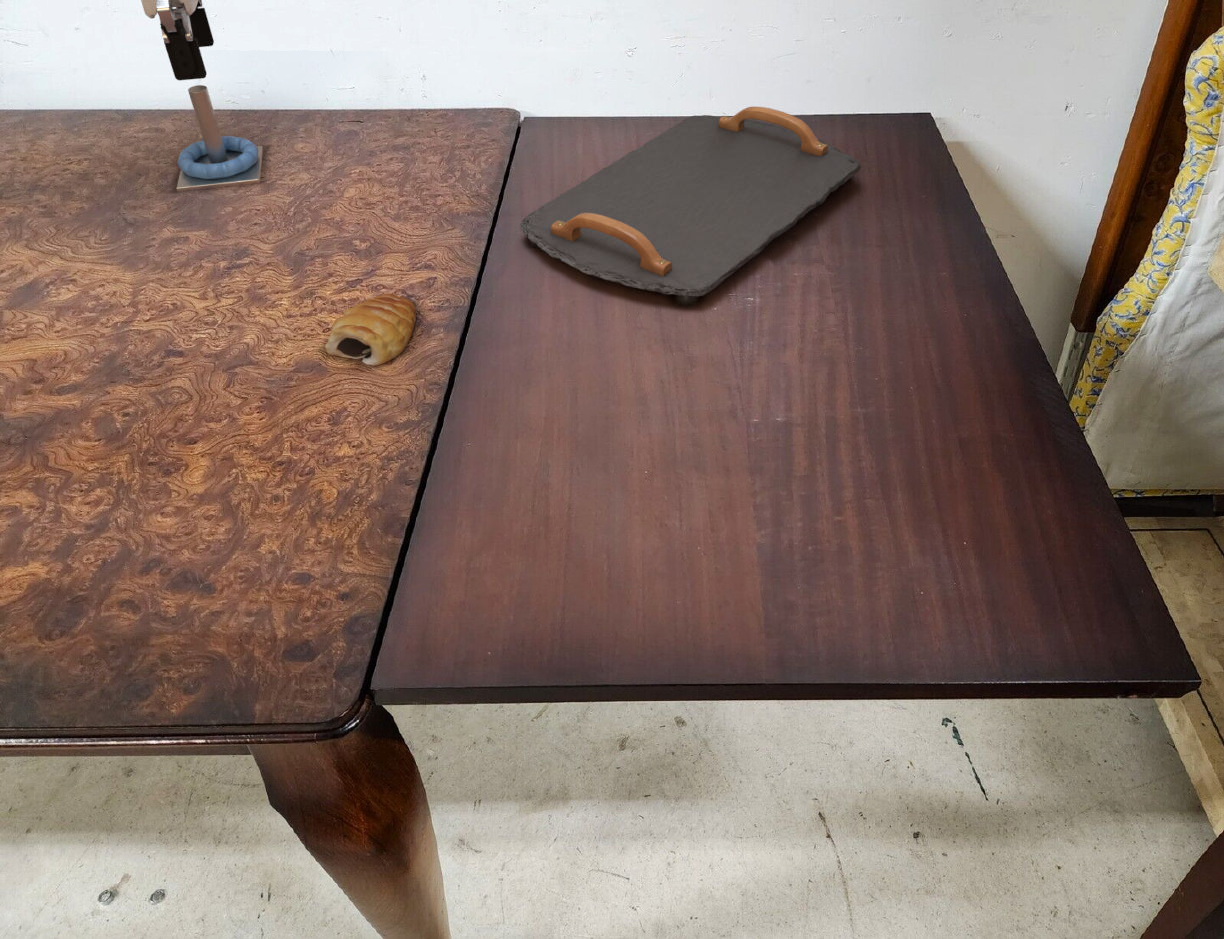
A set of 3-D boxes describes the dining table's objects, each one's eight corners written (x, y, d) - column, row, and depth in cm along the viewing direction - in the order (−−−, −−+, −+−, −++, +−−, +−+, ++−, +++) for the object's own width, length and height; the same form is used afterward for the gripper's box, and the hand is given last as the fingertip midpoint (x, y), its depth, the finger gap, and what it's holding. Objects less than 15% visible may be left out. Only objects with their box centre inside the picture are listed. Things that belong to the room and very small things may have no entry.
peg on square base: (179, 197, 110) (149, 108, 103) (187, 162, 116) (159, 76, 109) (261, 189, 111) (237, 100, 104) (265, 154, 118) (242, 69, 111)
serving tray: (705, 127, 122) (707, 77, 118) (875, 177, 112) (884, 124, 107) (497, 258, 100) (491, 202, 95) (685, 335, 89) (688, 277, 85)
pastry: (371, 306, 93) (363, 271, 91) (435, 317, 92) (430, 282, 89) (322, 363, 87) (313, 327, 84) (392, 376, 85) (385, 340, 83)
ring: (176, 184, 110) (172, 171, 109) (185, 151, 116) (180, 138, 115) (257, 176, 111) (253, 163, 110) (261, 143, 117) (257, 130, 116)
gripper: (117, -131, 102) (169, 37, 114) (89, -90, 90) (150, 95, 102) (191, -136, 104) (235, 32, 115) (173, -95, 91) (225, 88, 103)
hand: (196, 61), depth 108 cm, fingers open, 9 cm apart
